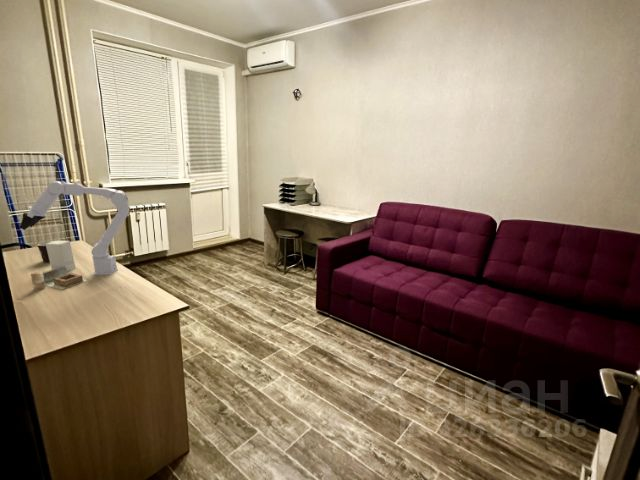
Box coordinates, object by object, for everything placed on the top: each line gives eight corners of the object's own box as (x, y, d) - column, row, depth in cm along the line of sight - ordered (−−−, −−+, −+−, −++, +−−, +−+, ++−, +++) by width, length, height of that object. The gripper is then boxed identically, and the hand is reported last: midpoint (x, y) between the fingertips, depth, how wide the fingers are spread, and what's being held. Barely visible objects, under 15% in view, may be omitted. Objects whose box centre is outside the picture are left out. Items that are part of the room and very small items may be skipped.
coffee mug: (43, 258, 191) (39, 242, 188) (61, 257, 194) (58, 240, 192) (36, 265, 181) (33, 248, 178) (56, 263, 184) (53, 246, 182)
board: (87, 281, 163) (87, 280, 163) (61, 290, 153) (61, 289, 153) (67, 276, 169) (67, 274, 169) (40, 284, 158) (40, 283, 158)
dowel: (47, 287, 155) (44, 271, 153) (41, 291, 151) (38, 274, 149) (38, 287, 155) (34, 271, 152) (32, 291, 151) (28, 275, 149)
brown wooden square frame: (83, 281, 162) (82, 275, 161) (65, 287, 154) (64, 281, 154) (72, 278, 164) (71, 272, 164) (54, 284, 157) (53, 278, 156)
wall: (67, 276, 167) (65, 266, 166) (45, 283, 158) (43, 273, 157) (65, 275, 168) (63, 266, 166) (43, 282, 159) (41, 272, 157)
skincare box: (76, 268, 178) (71, 240, 174) (65, 273, 172) (60, 244, 168) (61, 267, 179) (56, 239, 175) (50, 272, 173) (44, 243, 168)
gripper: (40, 196, 161) (22, 220, 160) (28, 199, 148) (8, 224, 147) (56, 205, 164) (38, 228, 163) (45, 209, 151) (26, 233, 150)
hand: (25, 227), depth 155 cm, fingers open, 7 cm apart
